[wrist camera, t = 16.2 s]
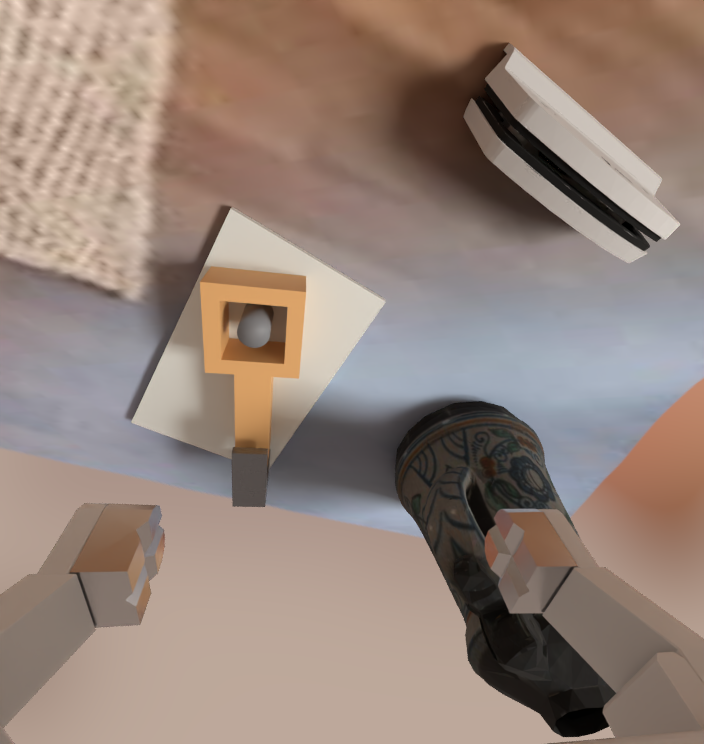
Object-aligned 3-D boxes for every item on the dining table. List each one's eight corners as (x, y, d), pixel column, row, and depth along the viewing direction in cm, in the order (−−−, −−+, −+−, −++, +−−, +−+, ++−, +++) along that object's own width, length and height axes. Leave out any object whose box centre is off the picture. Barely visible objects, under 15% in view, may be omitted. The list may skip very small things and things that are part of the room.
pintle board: (134, 417, 39) (113, 451, 35) (232, 206, 31) (220, 218, 26) (267, 467, 44) (263, 502, 40) (384, 298, 36) (395, 320, 31)
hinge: (655, 172, 32) (723, 234, 26) (602, 219, 36) (650, 285, 29) (504, 38, 27) (541, 73, 20) (457, 108, 30) (476, 158, 23)
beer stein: (483, 513, 52) (606, 773, 31) (346, 486, 47) (380, 775, 26) (557, 417, 45) (784, 671, 24) (404, 372, 40) (518, 645, 19)
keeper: (242, 406, 40) (231, 453, 34) (272, 407, 40) (267, 454, 35) (242, 455, 43) (232, 506, 37) (270, 456, 44) (265, 506, 38)
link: (211, 266, 32) (199, 281, 28) (306, 276, 33) (306, 292, 30) (218, 436, 41) (209, 464, 37) (292, 439, 42) (291, 466, 38)
